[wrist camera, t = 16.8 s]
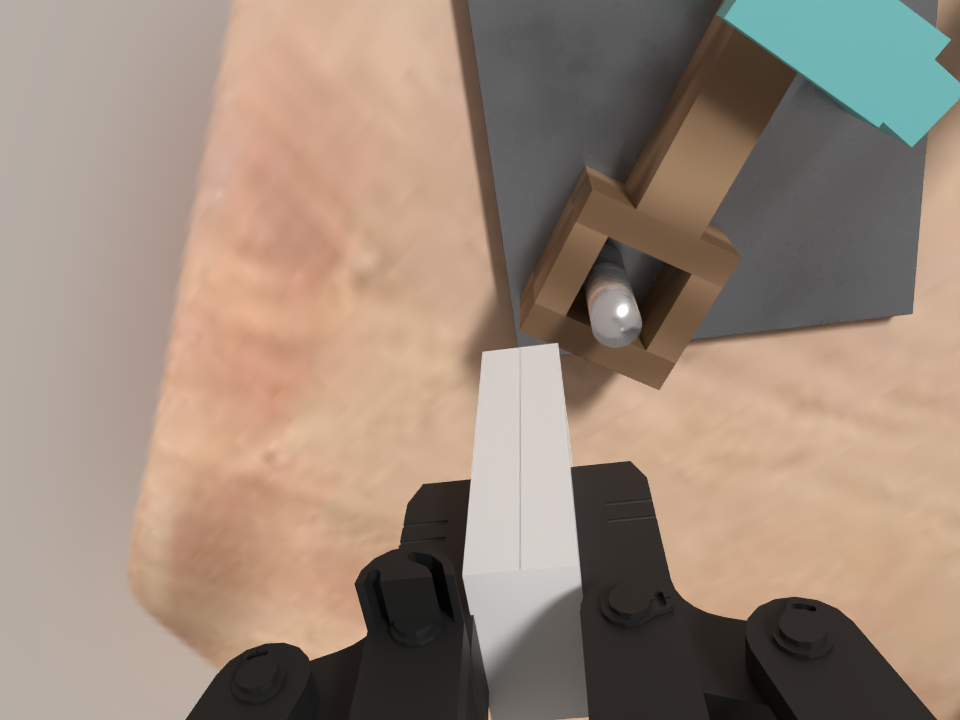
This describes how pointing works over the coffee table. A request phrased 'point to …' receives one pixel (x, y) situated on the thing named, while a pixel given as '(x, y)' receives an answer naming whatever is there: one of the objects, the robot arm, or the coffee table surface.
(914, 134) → the keeper
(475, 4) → the base
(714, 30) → the link
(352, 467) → the coffee table surface
